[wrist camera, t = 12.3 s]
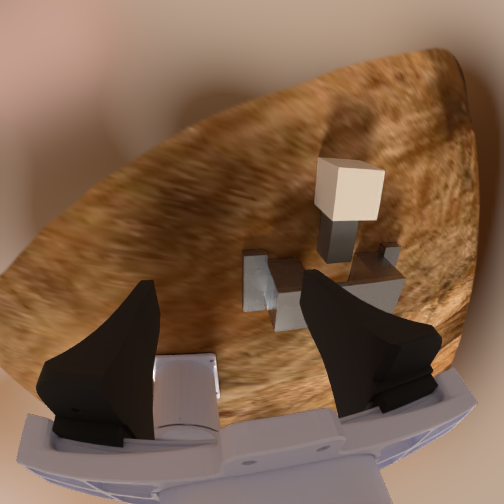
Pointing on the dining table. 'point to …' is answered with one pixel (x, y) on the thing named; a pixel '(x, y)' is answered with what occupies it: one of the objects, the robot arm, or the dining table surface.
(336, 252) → the plug
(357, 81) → the dining table surface
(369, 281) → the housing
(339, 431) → the robot arm
